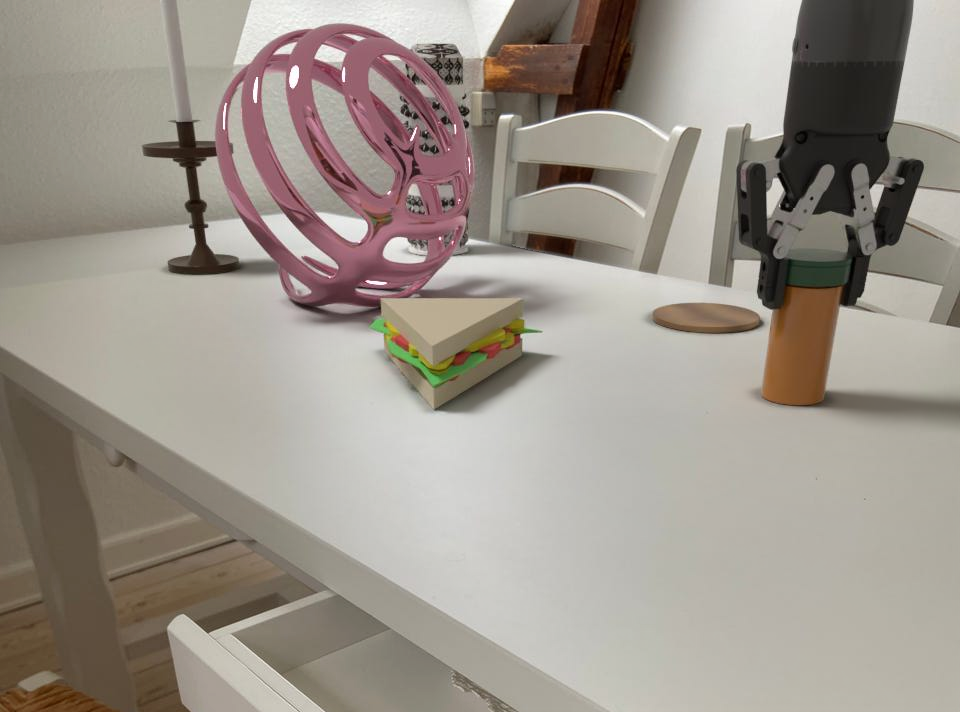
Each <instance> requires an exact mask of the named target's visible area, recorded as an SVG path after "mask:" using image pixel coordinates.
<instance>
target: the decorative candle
mask: <svg viewBox="0 0 960 712" xmlns="http://www.w3.org/2000/svg"><path fill="white" fill-rule="evenodd" d="M409 49H410V50H411V51H413V52H414V53H416V54H417V55H418V56H420V57H421V58H422V59H423V60H424V61H425V62H426V63H427V64H428V65H430V67H431V68H432V69H433V70H434V71H435V72H436V73H437V74H438V75H439V77H440V78H441V79H442V81H443V82H444V83H445V85H446V86H447V88H448V89H449V91H450V93H451V94H452V96H453V98H454V100H455V102H456V104H457V106H458V109H459V111H460V114H461V117H462V120H463V123H464V127H465V129H466V130H467V129H468V128H469V127H470V121H468V120H467V119H466V117H467V116H468V115H469V114H470V108H468V106H466V105H463V101H464V100H465V99H466V98H467V94H466V93H465V84H464V59H465V57H464V56H463V55H462V53H461V52H460V50H459V48H458V46H457V45H456V44H454V43H414V44H413V45H412V46H411V47H410V48H409ZM404 68H405V71H404V72H405V75H406V76H407V77H408V78H409V79H410V80H411V82H412V83H413V84H414V85H415V86H416V87H417V88H418V89H419V91H420V92H421V93H422V94H423V95H424V97H425V98H426V99H427V101H428V102H429V103H430V105H431V106H432V108H433V109H434V110H435V112H436V114H437V115H438V117H439V118H440V120H441V122H442V123H443V124H444V125H445V126H446V128H447V129H448V130H449V132H450V133H451V135H452V136H453V137H454V130H453V125H452V123H451V121H450V119H449V117H448V115H447V114H446V112H445V110H444V108H443V107H442V105H441V104H440V102H439V101H438V99H437V98H436V96H435V95H434V94H433V92H432V91H431V90H430V88H429V87H428V86H427V85H426V84H425V82H424V81H423V80H422V79H421V78H420V77H419V76H418V75H417V74H416V73H415V72H414V71H413V70H412V69H411V68H410V67H409V66H408V65H407V64H406V63H405V62H404ZM399 100H400V101H401V102H402V103H404V104H403V105H401V106H400V110H399V112H400V114H401V115H403V116H404V117H406V118H407V119H405V121H404V122H402V124H403V125H404V126H405V128H406V129H407V130H408V132H409V133H410V135H411V134H412V132H413V129H414V127H415V125H416V124H419V128H420V136H419V149H420V150H421V152H422V154H423V155H427V156H440V155H441V153H440V151H439V149H438V147H437V145H436V143H435V141H434V139H433V137H432V135H431V134H430V132H429V130H428V129H427V127H426V126H425V124H424V123H423V121H422V120H421V118H420V117H419V115H418V114H417V113H416V111H415V110H414V109H413V108H412V106H411V105H410V104H409V103H408V102H407V100H406V99H405V98H404V97H403V96H402V95H401V94H400V93H399ZM436 186H437V189H438V192H439V196H440V200H441V204H442V210H443V212H446V211H448V210H450V209H451V208H453V207H454V206H455V200H454V193H453V188H452V184H451V180H450V181H449V182H446V183H443V184H438V185H436ZM406 204H408V205H410V206H409V208H407V209H408V210H409V211H411V212H413V213H418V214H425V215H426V213H425V209H424V205H423V202H422V198H421V195H420V193H419V190H418V187H417V185H416V183H413V184H412V185H411V187H410V188H409V191H408V195H407V197H406ZM468 230H469V223H468V222H467V224H466V227H465V231H464V233H463V236H462V238H461V240H460V243H459V245H458V246H457V248H456V250H455V252H454V253H453V255H452V256H456V255H461V254H465V253H466V252H468V251H469V248H468V245H467V244H466V243H468V242H469V235H468V233H467V231H468ZM453 231H454V230H453ZM453 231H452V232H450V233H449V234H447V235H445V236H444V244H443V250H444V249H445V248H446V246H447V245H448V243H449V241H450V239H451V237H452V234H453ZM406 240H407V242H408V243H409V244H410V246H408V252H409V253H411V254H413V255H419V256H426V255H427V250H428V240H414V239H408V238H406Z"/></svg>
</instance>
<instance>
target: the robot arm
mask: <svg viewBox="0 0 960 712" xmlns="http://www.w3.org/2000/svg"><path fill="white" fill-rule="evenodd" d="M914 5H915V0H801V3H800V7H799V10H798V14H797V21H796V26H795V35H794V38H793V41H792V45H791V50H792V56H791V63H790V70H789V78H788V86H787V93H786V100H785V109H784V115H783V116H784V117H783V125H782V127H783V128H782V129H783V133H782V141H781V143H780V146H779V148H778V149H777V151H776V153H775V154H774V156H773V157H771V158H766V159H762V160H758V161H752V160H747V159H743V160H741V161H740V162H739V163H738V164H737V165H736V170H735V171H736V172H735V173H736V196H737V197H736V198H737V199H736V200H737V202H736V203H737V222H738V224H737V225H738V228H737V229H738V241H739V243H740V244H741V245H742V246H745V247H747V248H750V249H751V250H755V251H757V252H758V253H759V255H760V265H759V272H758V280H757V287H756V294H757V298H758V299H759V300H760V301H761V305H762V307H764V308H766V309H768V310H770V311H773V310H775V309H781V307H782V304H783V297H784V290H785V283H786V276H787V269H788V263H789V260H788V259H786V258H784V257H785V256H786V255H787V254H788V252H789V250H790V249H792V246H793V244H794V243H795V240H796V238H797V237H798V235H799V233H800V232H801V231H803V230H805V228H806V227H807V224H808V223H809V221H810V219H811V217H812V216H815V215H817V216H818V215H823V214H826V213H828V212H829V213H830V212H832V213H835V214H836V218H837V220H838V222H839V223H840V224H841V225H840V226H841V228H842V232H843V237H844V242H845V246H846V248H847V251H844V252H845V253H848V254H850V255H852V256H853V259H852V265H851V271H850V276H849V281H848V282H847V283H846V284H844V286H843V292H842V297H841V303H840V306H843V307H854V306H856V304H857V302H858V299H860V298H862V297H863V294H864V293H865V288H866V282H867V277H868V274H869V273H868V272H869V266H870V262H871V257H872V255H873V254H874V253H875V251H877V250H879V249H881V248H884V247H886V246H889V247H894V246H895V245H896V244H897V243H898V242H899V241H900V238H901V235H902V232H903V230H904V227H905V224H906V221H907V218H908V215H909V213H910V209H911V207H912V204H913V201H914V198H915V196H916V192H917V190H918V187H919V184H920V182H921V179H922V175H923V173H924V170H925V164H924V162H923V161H922V160H921V159H916V158H912V157H907V156H905V157H904V156H897V157H896V156H891V154H890V150H889V146H888V137H889V134H890V132H891V130H892V128H893V125H894V122H895V115H896V110H897V106H898V99H899V94H900V89H901V83H902V77H903V72H904V68H905V67H904V66H905V62H906V57H907V56H906V55H907V50H908V46H909V39H910V33H911V28H912V22H913V17H914V7H915V6H914ZM775 176H777V178H778V181H779V183H780V184H781V186H782V189H783V190H782V193H781V195H780V197H779V199H778V201H777V203H776V205H775V207H774V208H773V211H772V212H771V220H770V223H769V225H768V202H767V201H768V200H767V199H768V197H767V196H768V195H767V193H768V192H769V191H770V190H771V188H772V186H773V181H774V178H775ZM881 176H882V177H881ZM880 177H881V180H882V185H883V189H882V192H881V195H880V198H879V201H878V204H877V207H876V210H875V211H874V206H873V205H874V204H873V201H872V200H873V199H872V194H871V189H872V188H873V187H874V185H875V184H876V183H877V181H878V180H879V179H880Z"/></svg>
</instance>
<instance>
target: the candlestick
mask: <svg viewBox="0 0 960 712" xmlns="http://www.w3.org/2000/svg"><path fill="white" fill-rule="evenodd" d="M159 5H160V11H161V12H160V13H161V20H162V26H163V33H164V40H165V48H166V55H167V61H168V71H169V76H170V77H169V78H170V84H171V91H172V99H173V105H174V113H175V119H173V120H172V119H171V120H170V119H169V120H168V122H169V123H174V124H175V126H176V127H175V128H176V135H177V141H174V140H173V141H159V142H158V141H157V142H149V143H144V144H142V145H141V149H142V155H143V157H147V158H159V159H172V162H174V163H177V164H178V166H179V167H180V168H182V169H185V176H186V183H187V191H188V200H187V201H185V203H184V208H185V210H186V212H187V213H189V214H190V217H191V223H189V224H188V228H189V229H191V230H193V234H194V235H193V236H194V241H195V242H194V243H195V245H194V247H193V249H192V252H191V253H190V254H189V255H182V256H177V257H173V258H170V259H168V260H167V269H168V271H170V272H171V273H175V274H181V275H212V274H213V275H214V274H221V273H226V272H232V271H235V270H238V269H239V268H240V266H241V265H240V258H239V257H238V256H235V255H232V254H223V253H214V251H213V250H212V249H211V248H210V245H208V244H207V236H206V229H209V224H208V223H205V216H204V213H207V209H208V203H207V202H206V201H205V200H203V199H201V193H200V192H201V191H200V185H199V184H200V183H199V178H198V170H197V168H199V167H202V163H204V162H206V161H207V160H208V158H217V153H216V145H215V140H197V138H196V132H195V125H194V124H195V123H198V122H201V121H202V120H201V119H193V116H192V108H191V99H190V92H189V85H188V79H187V78H188V77H187V70H186V62H185V56H184V54H185V53H184V46H183V40H182V31H181V24H180V18H179V10H178V3H177V0H159ZM229 143H230V148H231V153H232V155H233V154H234V153H235V151H234V143H233V142H230V141H229Z"/></svg>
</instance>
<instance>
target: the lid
mask: <svg viewBox="0 0 960 712" xmlns="http://www.w3.org/2000/svg"><path fill="white" fill-rule="evenodd" d="M845 252H846V251H840V250H836V249H835V250H833V249H828V248H827V249H825V248H809V247H807V248H805V247H804V248H802V247H801V248H790V250H789V252H788V254H787V255H786V256H785V257H784V258H786V259H788V260H789V263H788V269H787V276H786V284H791V285H799V286H812V287H827V286H838V285H843V284H846V283H847V282H848V281H849V276H850V271H851V265H852V259H853V256H852V255H850V254H848V253H845Z"/></svg>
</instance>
